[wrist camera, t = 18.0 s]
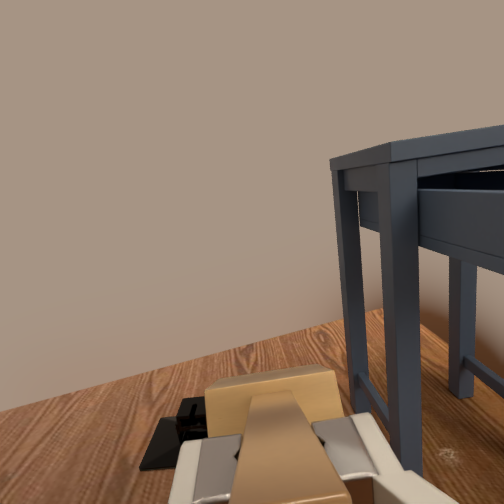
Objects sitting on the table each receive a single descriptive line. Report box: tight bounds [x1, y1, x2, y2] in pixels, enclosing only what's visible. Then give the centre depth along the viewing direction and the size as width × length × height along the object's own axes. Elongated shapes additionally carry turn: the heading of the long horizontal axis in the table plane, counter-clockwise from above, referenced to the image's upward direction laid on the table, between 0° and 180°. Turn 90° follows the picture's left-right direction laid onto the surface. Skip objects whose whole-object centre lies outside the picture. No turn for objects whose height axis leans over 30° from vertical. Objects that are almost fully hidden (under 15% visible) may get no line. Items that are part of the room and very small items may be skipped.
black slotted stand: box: [139, 396, 208, 471], centre depth 34 cm, size 12×7×5 cm, turn 88°
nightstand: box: [330, 125, 504, 478], centre depth 23 cm, size 22×14×29 cm, turn 3°
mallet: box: [204, 364, 352, 504], centre depth 10 cm, size 14×6×6 cm
